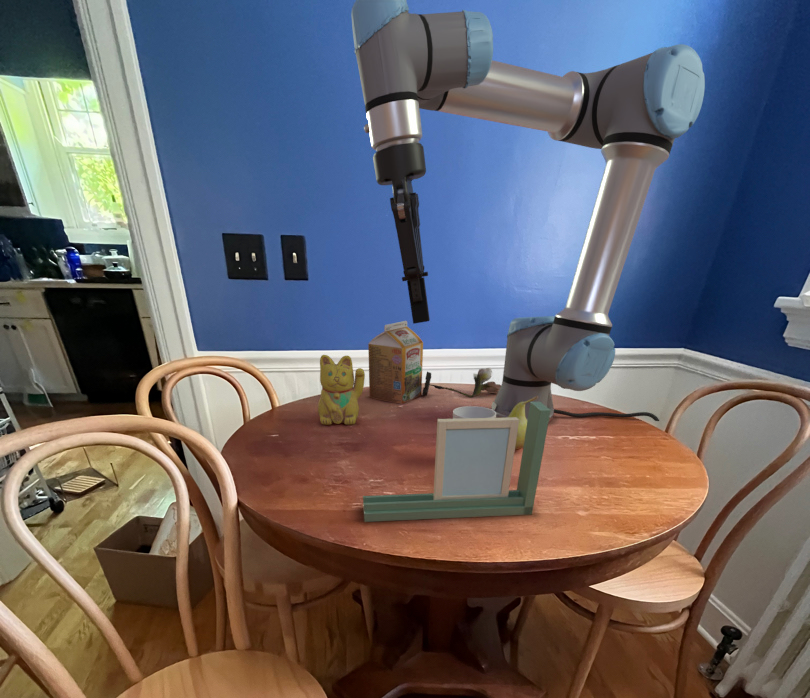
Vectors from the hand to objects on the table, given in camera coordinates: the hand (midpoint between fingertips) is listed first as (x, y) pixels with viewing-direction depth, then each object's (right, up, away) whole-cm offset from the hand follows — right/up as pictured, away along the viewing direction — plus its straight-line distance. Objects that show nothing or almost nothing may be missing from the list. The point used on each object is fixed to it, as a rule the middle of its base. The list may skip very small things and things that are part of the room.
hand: (421, 321), depth 82 cm
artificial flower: (+13, +4, +55) cm, 57 cm away
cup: (+10, -22, +14) cm, 28 cm away
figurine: (-18, -8, +35) cm, 40 cm away
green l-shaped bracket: (+4, -33, -4) cm, 33 cm away
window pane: (+8, -31, -5) cm, 32 cm away
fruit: (+20, -18, +20) cm, 34 cm away
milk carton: (-5, +3, +53) cm, 53 cm away
